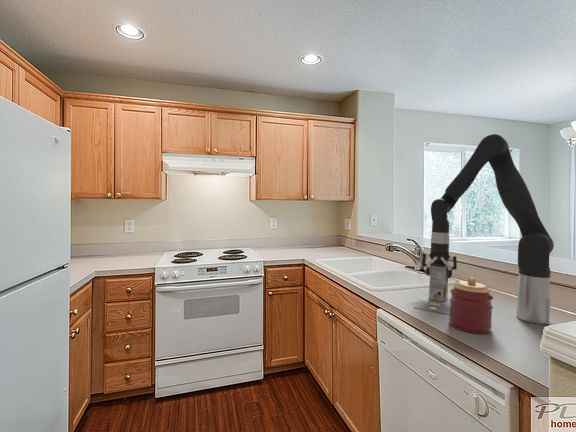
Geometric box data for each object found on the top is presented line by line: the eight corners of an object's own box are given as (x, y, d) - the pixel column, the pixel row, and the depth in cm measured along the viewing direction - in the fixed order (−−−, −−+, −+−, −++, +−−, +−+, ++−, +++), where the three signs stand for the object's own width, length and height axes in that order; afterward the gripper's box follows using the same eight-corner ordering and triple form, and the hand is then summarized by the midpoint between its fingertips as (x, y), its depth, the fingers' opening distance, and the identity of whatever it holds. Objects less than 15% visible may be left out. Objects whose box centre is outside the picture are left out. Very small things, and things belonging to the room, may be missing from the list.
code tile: (453, 305, 128) (453, 304, 128) (452, 315, 116) (452, 314, 116) (418, 299, 135) (418, 298, 135) (413, 308, 123) (413, 307, 123)
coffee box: (432, 293, 144) (434, 261, 143) (447, 296, 140) (449, 262, 139) (428, 298, 136) (429, 263, 136) (443, 301, 132) (445, 265, 132)
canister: (501, 333, 100) (504, 281, 99) (468, 336, 97) (471, 283, 97) (470, 318, 113) (472, 272, 112) (440, 320, 110) (442, 273, 109)
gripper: (457, 242, 136) (456, 277, 137) (424, 240, 144) (423, 273, 144) (457, 244, 130) (455, 280, 131) (422, 241, 137) (420, 276, 138)
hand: (438, 276), depth 138 cm, fingers open, 8 cm apart
